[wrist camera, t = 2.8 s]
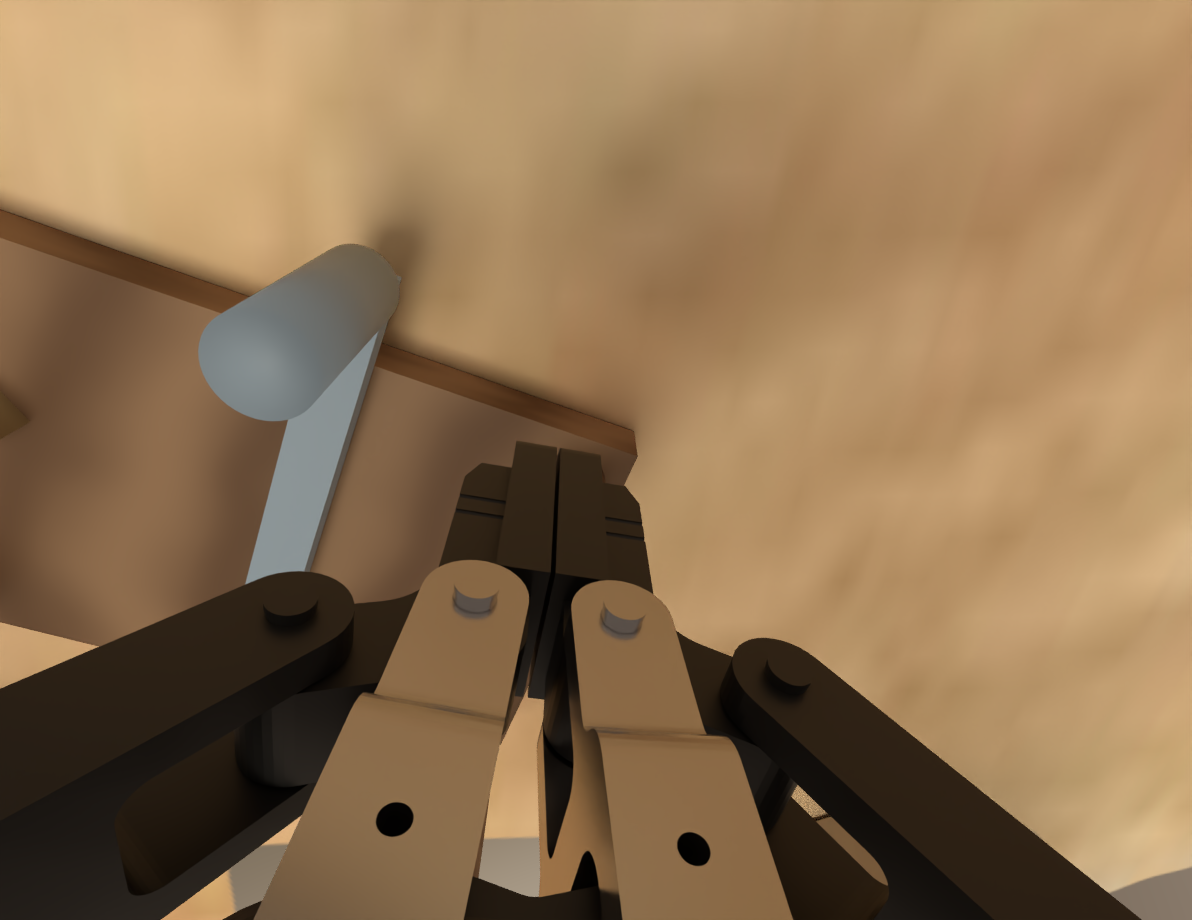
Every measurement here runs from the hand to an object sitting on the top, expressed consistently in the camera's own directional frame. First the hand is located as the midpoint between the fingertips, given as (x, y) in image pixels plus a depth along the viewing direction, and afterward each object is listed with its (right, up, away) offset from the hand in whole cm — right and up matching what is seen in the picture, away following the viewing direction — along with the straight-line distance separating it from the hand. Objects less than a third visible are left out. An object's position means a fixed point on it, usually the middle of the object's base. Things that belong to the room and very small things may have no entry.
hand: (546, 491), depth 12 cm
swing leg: (-9, 0, +12) cm, 15 cm away
